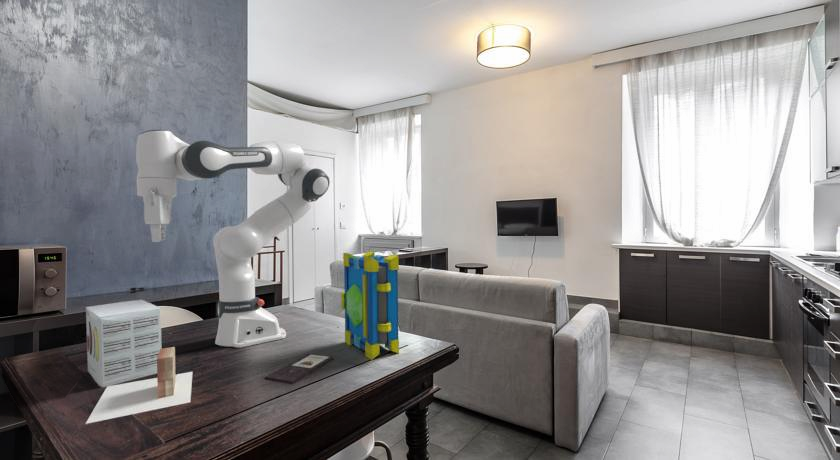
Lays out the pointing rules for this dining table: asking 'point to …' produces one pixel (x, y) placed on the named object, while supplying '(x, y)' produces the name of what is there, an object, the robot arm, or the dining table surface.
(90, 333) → the supplement box
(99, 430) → the dining table surface
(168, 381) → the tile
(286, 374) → the chocolate bar
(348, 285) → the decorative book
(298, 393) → the dining table surface
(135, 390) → the mat
